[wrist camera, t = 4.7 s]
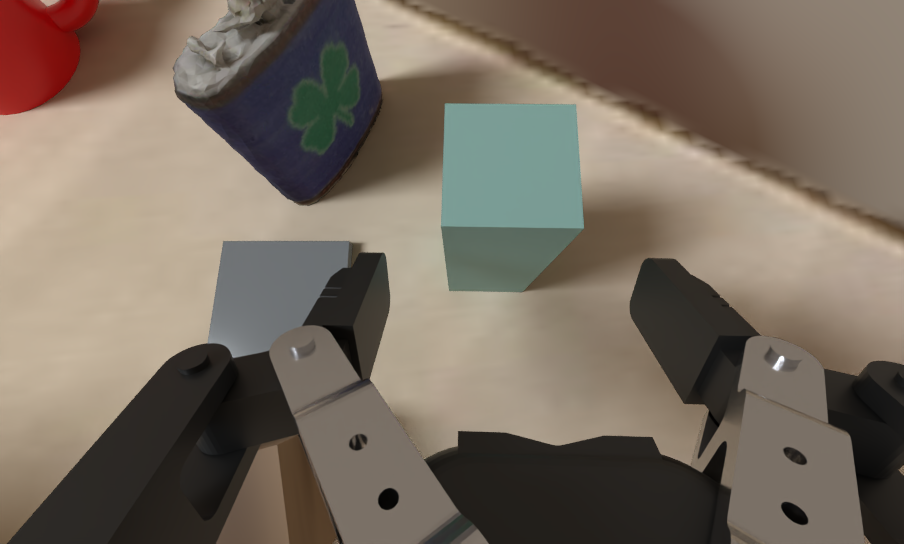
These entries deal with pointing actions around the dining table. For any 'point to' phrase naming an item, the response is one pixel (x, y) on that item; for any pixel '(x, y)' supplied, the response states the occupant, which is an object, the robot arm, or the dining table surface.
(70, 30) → the mug
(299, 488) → the walnut block
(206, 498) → the robot arm
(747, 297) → the dining table surface
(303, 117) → the flask
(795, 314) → the dining table surface
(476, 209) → the teal post
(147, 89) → the dining table surface
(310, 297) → the slate coaster
